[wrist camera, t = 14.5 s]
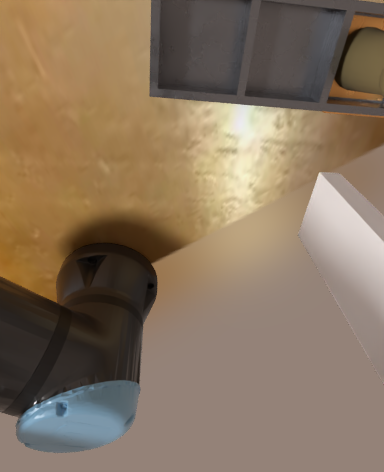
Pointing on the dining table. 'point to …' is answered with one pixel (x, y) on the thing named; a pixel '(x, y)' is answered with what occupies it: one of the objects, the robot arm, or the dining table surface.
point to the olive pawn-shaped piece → (362, 62)
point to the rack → (259, 52)
